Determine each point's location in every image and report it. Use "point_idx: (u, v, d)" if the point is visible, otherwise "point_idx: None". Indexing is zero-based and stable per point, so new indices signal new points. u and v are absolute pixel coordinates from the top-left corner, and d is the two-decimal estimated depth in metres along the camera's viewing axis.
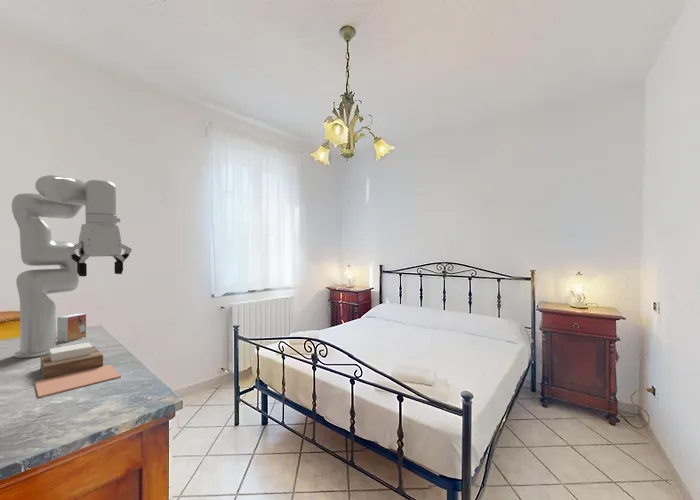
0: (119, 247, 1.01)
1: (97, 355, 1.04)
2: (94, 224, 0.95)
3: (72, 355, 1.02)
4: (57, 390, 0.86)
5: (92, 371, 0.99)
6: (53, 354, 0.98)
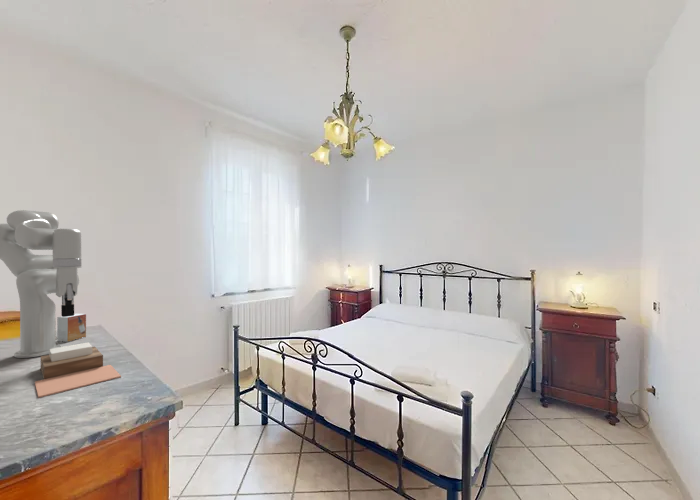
0: None
1: (97, 355, 1.04)
2: None
3: (72, 355, 1.02)
4: (57, 390, 0.86)
5: (92, 371, 0.99)
6: (53, 354, 0.98)
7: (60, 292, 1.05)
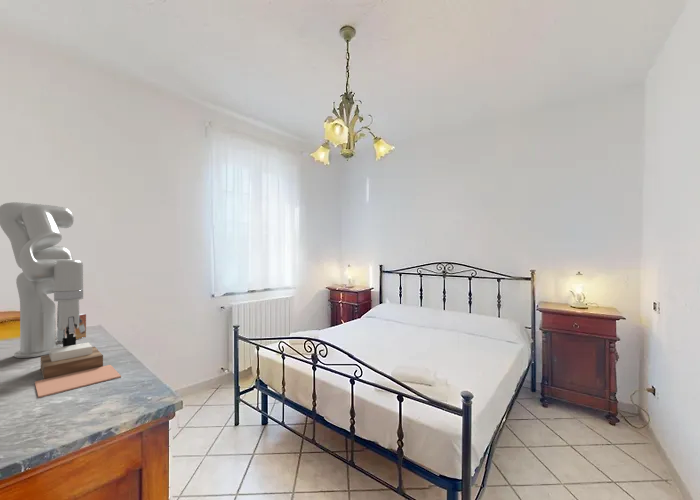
0: None
1: (97, 355, 1.04)
2: (79, 299, 1.08)
3: (72, 355, 1.02)
4: (57, 390, 0.86)
5: (92, 371, 0.99)
6: (53, 354, 0.98)
7: (62, 326, 1.03)
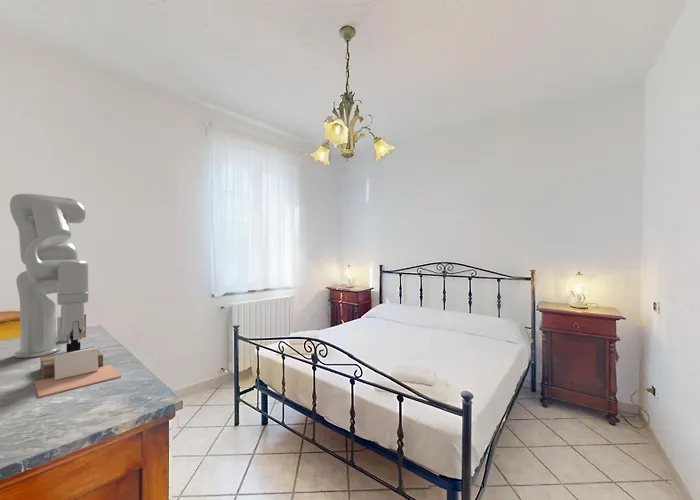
0: None
1: None
2: (83, 303, 1.01)
3: None
4: (57, 390, 0.86)
5: None
6: None
7: (65, 331, 0.96)
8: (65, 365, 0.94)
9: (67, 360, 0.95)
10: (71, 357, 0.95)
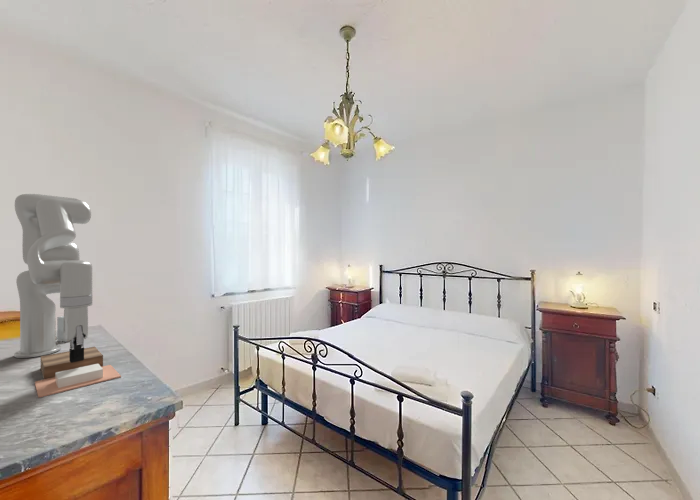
0: None
1: (97, 355, 1.04)
2: (87, 306, 0.96)
3: None
4: (57, 390, 0.86)
5: None
6: None
7: (69, 336, 0.91)
8: None
9: None
10: None
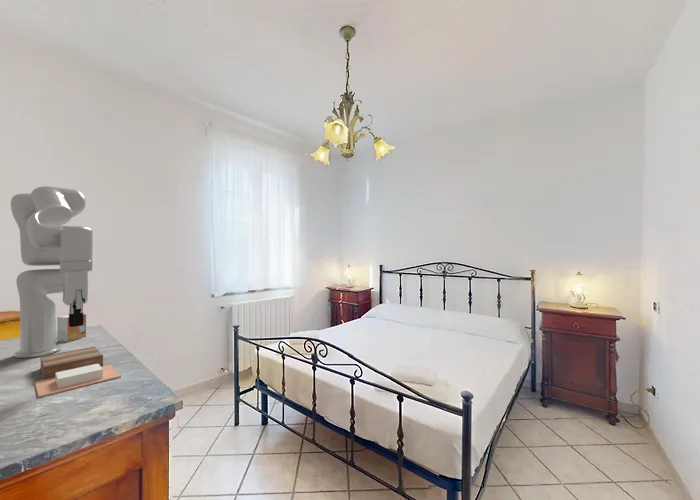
0: None
1: (97, 355, 1.04)
2: (87, 271, 0.96)
3: None
4: (57, 390, 0.86)
5: None
6: None
7: (68, 300, 0.91)
8: None
9: None
10: None
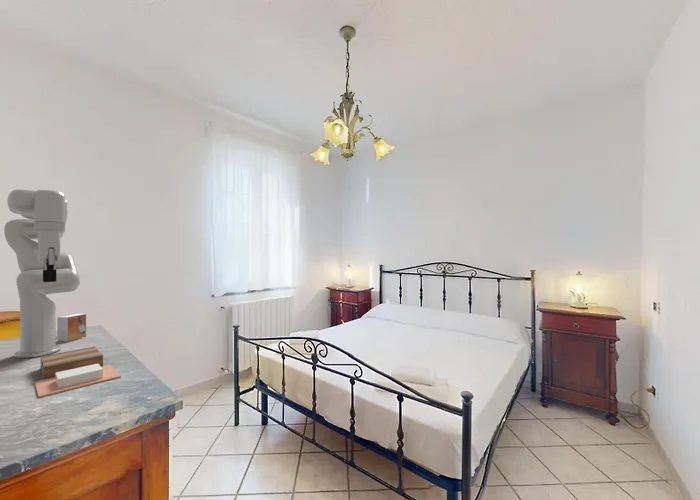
0: None
1: (97, 355, 1.04)
2: (60, 232, 1.05)
3: None
4: (57, 390, 0.86)
5: None
6: None
7: (41, 256, 1.01)
8: None
9: None
10: None
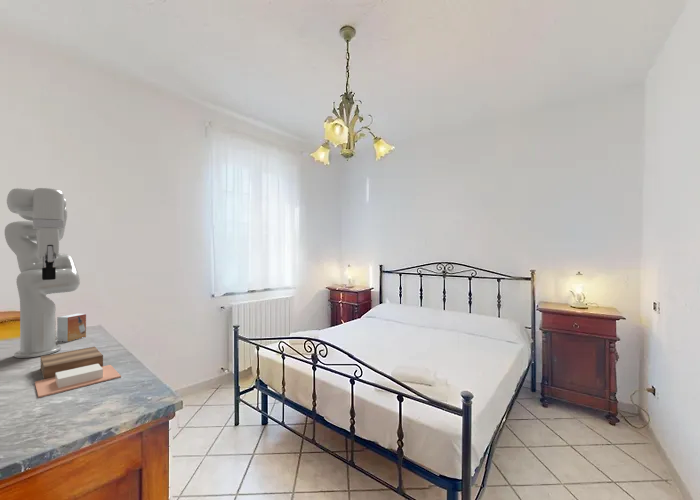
0: None
1: (97, 355, 1.04)
2: (58, 229, 1.06)
3: None
4: (57, 390, 0.86)
5: None
6: None
7: (40, 253, 1.01)
8: None
9: None
10: None
